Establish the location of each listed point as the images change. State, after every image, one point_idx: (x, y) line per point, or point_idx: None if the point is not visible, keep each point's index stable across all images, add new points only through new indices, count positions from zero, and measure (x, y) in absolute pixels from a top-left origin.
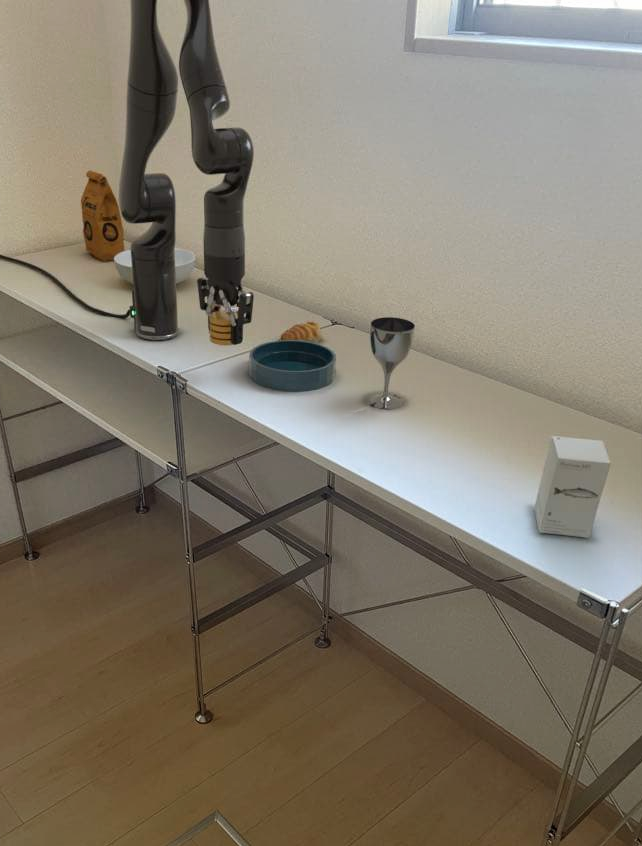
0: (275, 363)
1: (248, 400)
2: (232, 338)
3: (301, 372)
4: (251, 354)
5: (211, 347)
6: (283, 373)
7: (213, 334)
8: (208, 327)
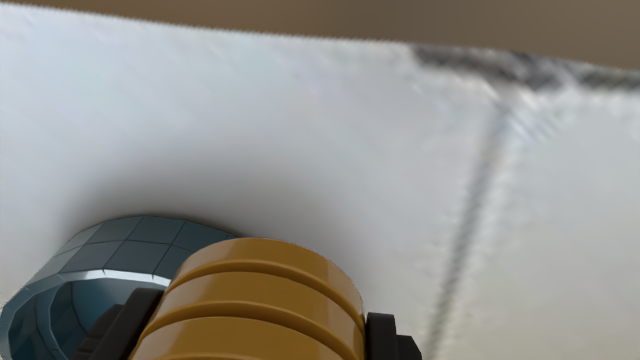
0: None
1: (89, 105)
2: (124, 317)
3: (2, 313)
4: None
5: (557, 333)
6: (35, 277)
7: (246, 286)
8: (419, 357)
